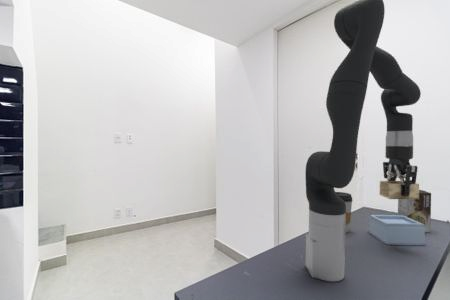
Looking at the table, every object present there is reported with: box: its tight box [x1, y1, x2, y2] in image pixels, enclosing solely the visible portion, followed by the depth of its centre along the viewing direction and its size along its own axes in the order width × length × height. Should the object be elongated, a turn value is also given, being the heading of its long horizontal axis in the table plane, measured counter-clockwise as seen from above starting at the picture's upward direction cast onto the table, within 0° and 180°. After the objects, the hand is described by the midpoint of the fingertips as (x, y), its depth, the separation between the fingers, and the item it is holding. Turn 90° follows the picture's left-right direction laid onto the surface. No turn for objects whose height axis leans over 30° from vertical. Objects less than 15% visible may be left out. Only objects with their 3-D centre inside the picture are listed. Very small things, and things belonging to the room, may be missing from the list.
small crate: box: [379, 180, 420, 200], centre depth 80 cm, size 9×6×5 cm, turn 86°
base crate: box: [368, 214, 426, 246], centre depth 88 cm, size 13×11×7 cm
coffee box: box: [397, 189, 432, 233], centre depth 98 cm, size 9×6×16 cm
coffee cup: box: [335, 191, 353, 234], centre depth 96 cm, size 8×8×15 cm
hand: (398, 193), depth 80 cm, fingers closed on small crate, 6 cm apart
